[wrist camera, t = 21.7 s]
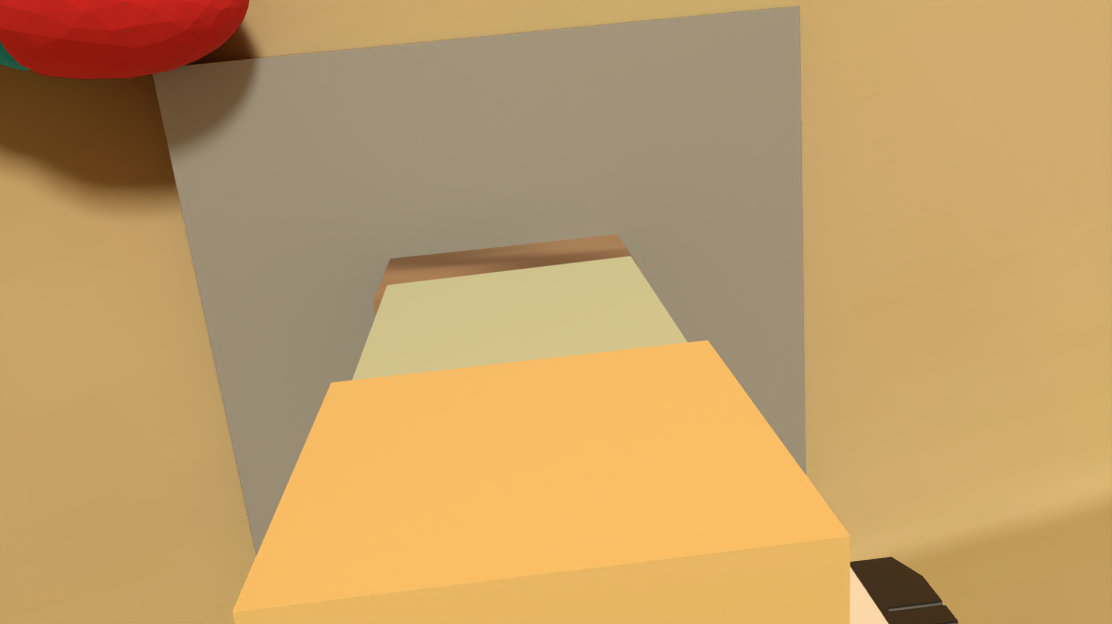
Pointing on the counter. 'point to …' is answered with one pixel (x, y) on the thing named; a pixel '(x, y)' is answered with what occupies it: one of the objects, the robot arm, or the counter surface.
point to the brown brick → (498, 260)
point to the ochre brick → (550, 502)
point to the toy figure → (113, 35)
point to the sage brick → (515, 318)
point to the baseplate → (488, 196)
